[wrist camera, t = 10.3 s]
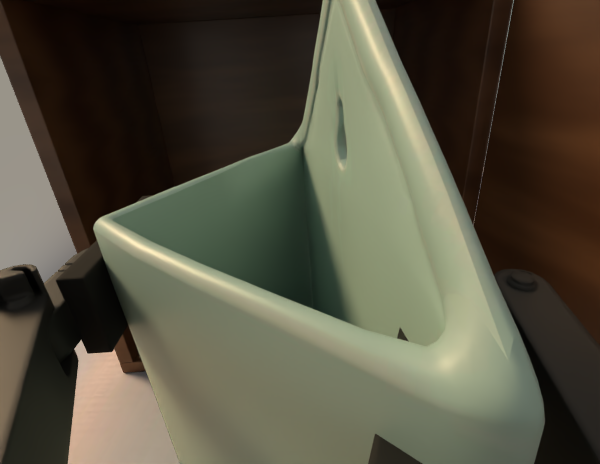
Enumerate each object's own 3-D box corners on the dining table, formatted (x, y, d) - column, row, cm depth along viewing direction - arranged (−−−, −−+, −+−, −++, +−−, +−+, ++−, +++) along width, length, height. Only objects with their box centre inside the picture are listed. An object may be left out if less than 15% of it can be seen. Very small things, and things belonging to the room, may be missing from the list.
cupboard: (451, 349, 33) (525, -66, 19) (123, 373, 33) (-35, -32, 19) (389, 239, 53) (404, -4, 39) (184, 253, 52) (128, 13, 39)
